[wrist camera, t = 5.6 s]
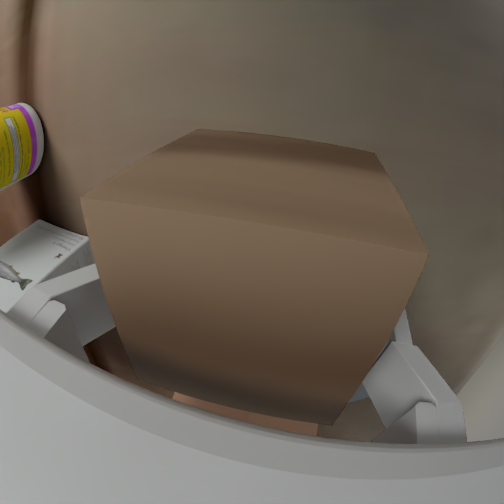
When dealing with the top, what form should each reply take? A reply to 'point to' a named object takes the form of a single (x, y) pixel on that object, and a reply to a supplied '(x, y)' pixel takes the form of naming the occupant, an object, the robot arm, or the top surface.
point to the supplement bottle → (19, 143)
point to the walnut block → (255, 269)
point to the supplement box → (39, 259)
